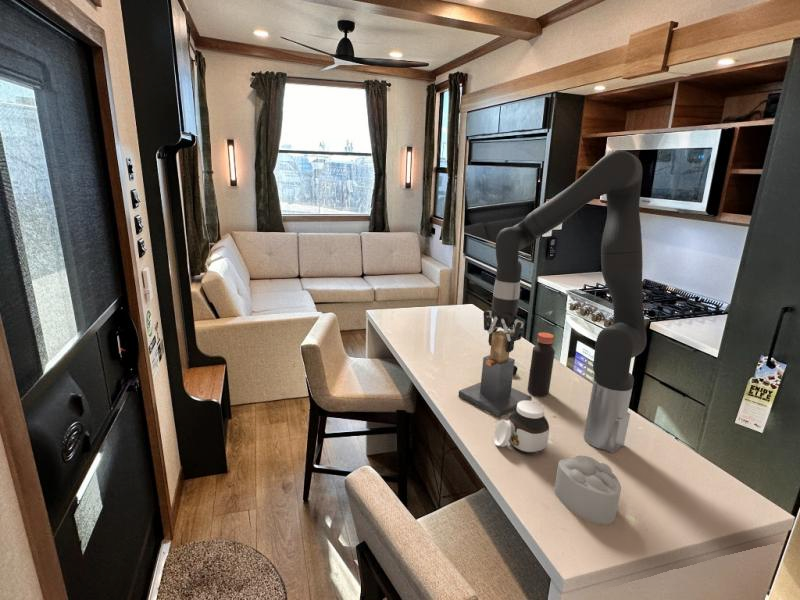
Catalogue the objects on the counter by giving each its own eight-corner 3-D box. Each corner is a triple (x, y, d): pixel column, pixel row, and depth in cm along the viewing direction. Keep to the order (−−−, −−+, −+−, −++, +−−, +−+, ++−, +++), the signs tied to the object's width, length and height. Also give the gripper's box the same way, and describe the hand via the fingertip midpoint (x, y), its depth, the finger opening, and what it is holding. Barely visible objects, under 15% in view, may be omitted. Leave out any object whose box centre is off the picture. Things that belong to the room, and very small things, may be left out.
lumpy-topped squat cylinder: (583, 479, 105) (589, 447, 103) (628, 518, 94) (636, 483, 91) (547, 488, 102) (552, 455, 99) (589, 530, 90) (596, 494, 88)
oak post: (504, 394, 140) (511, 333, 135) (496, 397, 138) (503, 336, 132) (494, 389, 143) (500, 330, 138) (486, 392, 141) (492, 332, 135)
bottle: (523, 391, 147) (530, 334, 142) (533, 385, 152) (541, 329, 146) (542, 399, 143) (550, 340, 137) (552, 392, 147) (560, 335, 142)
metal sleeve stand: (531, 402, 140) (536, 361, 136) (498, 418, 130) (503, 374, 126) (491, 383, 152) (495, 344, 148) (458, 396, 142) (461, 355, 138)
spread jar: (550, 453, 115) (556, 412, 112) (517, 465, 109) (523, 423, 106) (517, 429, 125) (522, 392, 122) (485, 440, 119) (490, 400, 116)
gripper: (534, 299, 129) (527, 353, 133) (495, 288, 139) (489, 338, 144) (518, 302, 124) (511, 359, 129) (479, 291, 135) (474, 343, 139)
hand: (500, 348), depth 136 cm, fingers open, 5 cm apart
